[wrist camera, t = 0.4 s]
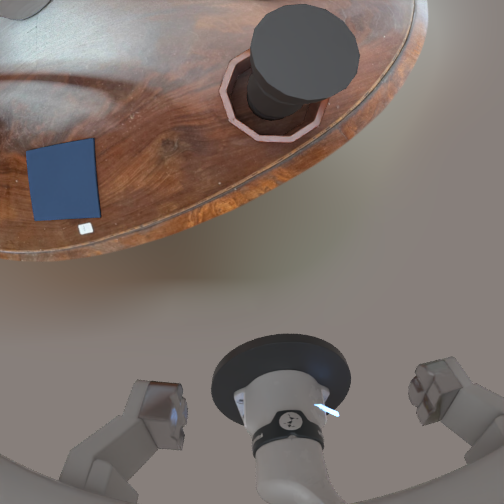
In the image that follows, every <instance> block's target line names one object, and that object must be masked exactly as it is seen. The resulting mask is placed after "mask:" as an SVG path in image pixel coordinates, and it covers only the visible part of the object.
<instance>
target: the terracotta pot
mask: <svg viewBox="0 0 504 504" xmlns="http://www.w3.org/2000/svg"><path fill="white" fill-rule="evenodd" d="M249 68H251V63H250V49H248V50H246V51H245V52H243V53H241V54H240V55H238V56H237V57H235V58H234V59H232V60H230V62H229V65H228V67H227V70H226V73H225V75H224V78H223V81H222V83H221V86H220V89H219V94H220V96H221V99H222V102H223V105H224V108H225V111H226V114H227V117H228V120H229V122H230V123H231V124H232V125H234V126H235V127H237V128H238V129H240V130H241V131H242V132H244V133H245V134H247V135H248V136H250V137H251V138H252V139H254V140H255V141H257V142H275V143H293V142H294V141H296V140H297V139H299V138H301V137H302V136H304V135H305V134H307V133H308V132H310V131H312V130H313V129H315V128H316V127H318V126H319V125H320V123H321V120H322V118H323V115H324V112H325V109H326V107H327V104H328V101H329V98H330V97H329V98H327V99H324V100H322V101H319V102H316V103H310V104H309V107H308V110H307V112H306V115H305V118H304V121H303V122H302V123H301V124H299V125H298V126H296V127H294V128H293V129H291V130H290V131H288V132H287V133H285V134H284V135H264V134H258V133H256V132H255V131H254V130H252V129H251V128H249V127H248V126H247V125H245V124H244V123H242V122H241V121H239V120H238V119H237V116H236V113H235V110H234V107H233V104H232V101H231V98H230V97H231V94H232V91H233V89H234V86H235V83H236V81H237V78H238V76H239V75H240V74H242V73H243V72H245V71H246V70H248V69H249Z"/></svg>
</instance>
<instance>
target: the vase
mask: <svg viewBox="0 0 504 504" xmlns="http://www.w3.org/2000/svg"><path fill="white" fill-rule="evenodd" d="M49 1H50V0H0V17H4V18H8V19H13V20H23V19H26V18H29V17H30V16H32V15H34V14H35V13H37V12H38V11H40V10H41V9H42V8H43V7H44V6H45V5H46V4H47V3H48V2H49Z"/></svg>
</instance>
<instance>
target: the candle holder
mask: <svg viewBox="0 0 504 504" xmlns="http://www.w3.org/2000/svg"><path fill="white" fill-rule="evenodd" d="M359 58H360V54H359V50H358V46H357V43H356V39H355V36H354V35H353V34H352V32H351V31H350V30H349V28H348V27H347V26H346V24H345V23H344V22H343V21H342V20H341V19H339V18H338V17H336V16H335V15H333V14H332V13H330V12H329V11H327V10H326V9H322V8H319V7H315V6H311V5H307V4H298V5H286V6H282V7H280V8H278V9H276V10H274V11H272V12H270V13H268V14H266V15H265V17H264V18H263V19H262V20H261V21H260V23H259V24H258V25H257V26H256V28H255V29H254V33H253V37H252V42H251V46H250V63H251V67H252V71H253V73H252V74H251V75H250V77H249V80H248V85H247V91H248V92H247V100H248V105H249V108H250V109H251V110H252V112H253V113H254V114H255V115H257V116H258V117H260V118H261V119H265V120H270V121H272V120H278V119H282V118H284V117H286V116H289V115H291V114H293V113H295V112H296V111H298V110H299V109H300V108H301V107H302V106H303V104H309V103H316V102H319V101H322V100H324V99H327V98H329V97H331V96H333V95H335V94H337V93H338V92H340V91H342V90H344V89H346V88H347V86H348V85H349V83H350V82H351V81H352V79H353V78H354V77H355V75H356V74H357V69H358V64H359Z"/></svg>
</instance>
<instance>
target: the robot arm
mask: <svg viewBox="0 0 504 504" xmlns="http://www.w3.org/2000/svg"><path fill="white" fill-rule="evenodd" d="M415 374H416V376H415V377H414V378H413V379H412V380H411V382H410V385H409V392H408V394H409V399H410V401H411V403H412V405H414V406H416V407H417V412H416V414H417V416H418V418H419V420H420V422H421V424H422V426H424V425H428V424H431V423H435V422H438V421H441V422H442V423H443V424H444V425H445V426H446V427H448V428H449V429H450V430H452V431H453V432H454V433H456V434H457V435H458V436H459V437H461V438H462V439H463V440H464V441H466V442H467V443H468V444H470V445H471V446H472V447H471V449H470V450H469V451H468V452H467V453H466V454H465V457H464V458H465V460H466V463H467V465H465V466H463V467H461V468H459V469H457V470H454V471H452V472H450V473H448V474H445V475H443V476H441V477H438V478H435V479H433V480H430V481H428V482H425V483H422V484H419V485H417V486H414V487H411V488H408V489H405V490H402V491H398V492H395V493H392V494H388V495H384V496H381V497H377V498H373V499H369V500H365V501H360V502H356V503H351V504H504V397H502V396H500V395H498V394H496V393H494V392H492V391H490V390H488V389H486V388H484V387H482V386H481V385H479V384H477V383H475V384H473V383H472V381H471V380H470V378H469V377H468V375H467V374H466V373H465V371H464V370H463V368H462V367H461V365H460V364H459V363H458V361H457V360H456V358H454V357H448V358H444V359H439V360H435V361H431V362H427V363H423V364H420V365H418V366H417V368H416V370H415ZM182 394H183V388H182V385H181V384H179V383H167V382H156V381H145V380H137V381H136V382H135V383H134V385H133V387H132V390H131V393H130V396H129V398H128V401H127V404H126V406H125V409H124V413H123V415H122V416H120V415H118V416H117V417H115V418H114V419H113V420H111V421H110V422H109V423H108V424H106V425H105V426H103V427H102V428H100V429H99V430H98V431H96V432H95V433H94V434H92V435H91V436H89V437H88V438H87V439H85V440H84V441H83V442H81V443H80V444H78V445H77V446H76V447H74V448H73V449H71V450H70V453H69V455H68V457H67V460H66V462H65V465H64V467H63V470H62V472H61V475H60V478H59V480H55V479H53V478H50V477H48V476H45V475H43V474H41V473H38V472H36V471H34V470H32V469H29V468H27V467H25V466H23V465H21V464H19V463H17V462H15V461H13V460H11V459H9V458H7V457H5V456H3V455H1V454H0V504H137V500H138V493H137V492H136V491H135V490H134V489H133V488H132V487H131V486H130V484H128V482H127V481H128V480H129V479H130V478H131V477H132V476H133V475H134V474H135V473H136V472H137V471H138V470H139V469H140V468H141V467H142V466H143V465H144V464H145V463H146V461H148V460H149V458H150V457H151V456H152V455H153V454H154V453H155V452H156V451H157V450H158V449H157V448H160V449H172V450H182V448H183V442H184V436H185V435H184V432H183V429H182V428H183V427H184V426H185V425H186V424H187V417H188V416H187V415H188V408H187V402H186V399H185V398H183V397H182ZM329 394H330V392H329V389H328V388H327V387H325V386H322V385H320V384H319V383H318V382H317V381H316V380H315V379H314V378H313V377H312V376H310V375H309V374H307V373H304V372H301V371H296V370H278V371H273V372H269V373H266V374H264V375H261V376H259V377H258V378H256V379H255V380H253V381H252V382H251V383H250V384H249V385H248V386H246V387H245V388H242V389H240V390H237V391H236V392H234V399H235V402H236V405H237V407H238V410H239V412H240V415H241V418H242V420H243V423H244V426H245V428H246V430H247V432H248V433H249V435H250V436H251V438H252V451H253V456H254V458H255V459H256V489H257V492H258V494H259V496H260V497H261V498H262V499H263V500H264V501H266V502H267V503H269V504H348V503H346V502H345V501H344V500H343V499H342V498H341V497H340V496H339V495H338V493H337V492H336V491H335V489H334V488H333V486H332V484H331V482H330V479H329V476H328V472H327V468H326V465H325V461H324V456H323V449H324V443H323V442H324V439H323V435H322V431H321V429H322V428H323V427H324V425H325V423H326V422H327V417H326V412H329V413H331V414H333V415H335V416H339V414H338V412H336V411H334V410H332V409H330V408H328V407H325V404H324V403H325V401H326V400H327V398H328V396H329Z"/></svg>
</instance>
